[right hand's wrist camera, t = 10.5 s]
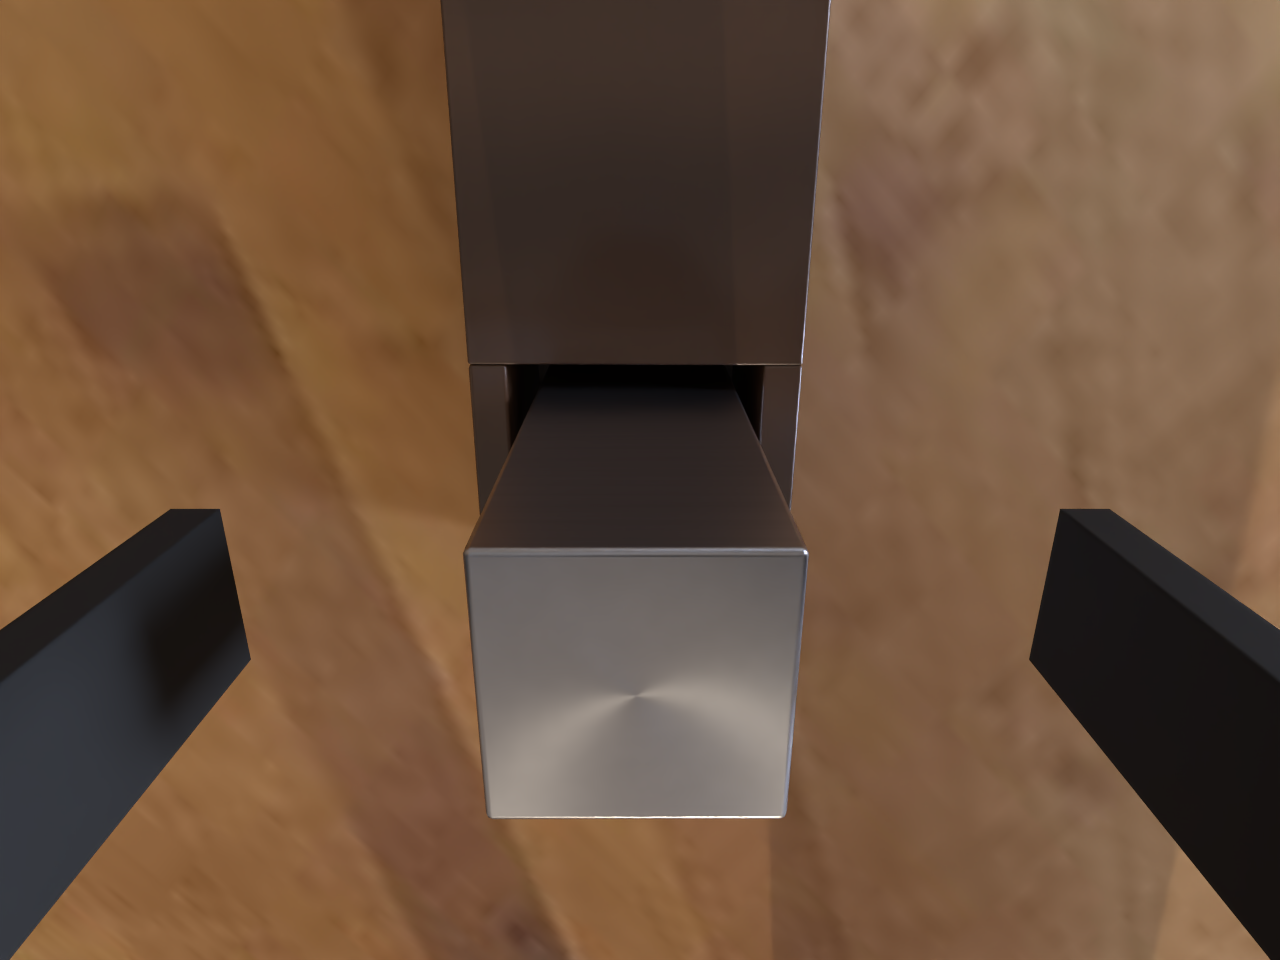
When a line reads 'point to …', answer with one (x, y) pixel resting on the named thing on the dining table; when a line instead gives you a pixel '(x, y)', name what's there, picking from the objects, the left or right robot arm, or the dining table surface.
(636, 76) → the socket block
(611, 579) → the peg
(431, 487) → the dining table surface
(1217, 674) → the right robot arm
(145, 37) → the dining table surface
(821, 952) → the dining table surface
